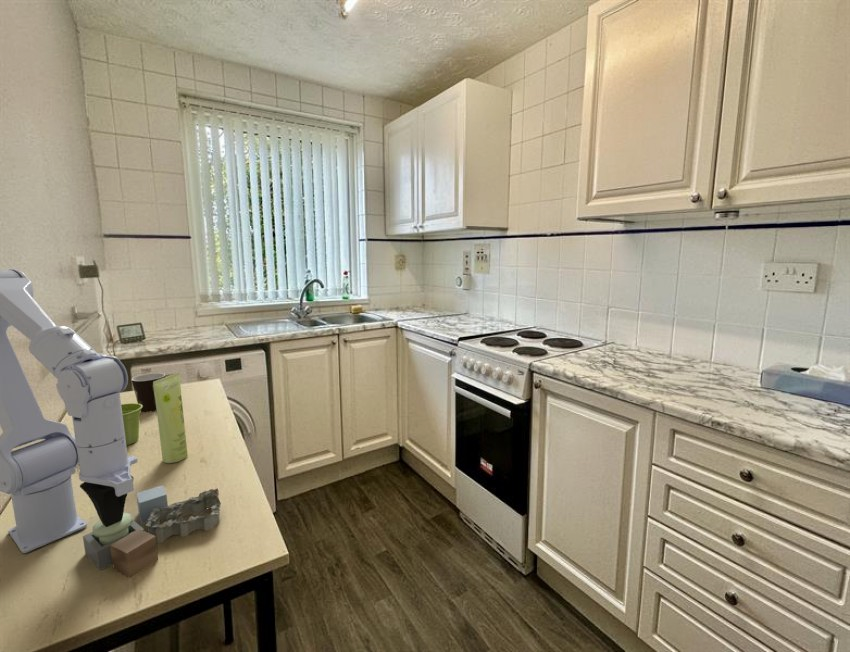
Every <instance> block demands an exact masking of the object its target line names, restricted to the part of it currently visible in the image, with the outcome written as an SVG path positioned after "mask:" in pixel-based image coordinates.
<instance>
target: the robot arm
mask: <svg viewBox="0 0 850 652" xmlns="http://www.w3.org/2000/svg"><path fill="white" fill-rule="evenodd" d="M32 282H33V281H31V280H30V279H29V277H28V276H27V275H26V273H24V272H23V271H21V270H20V269H16V268H10V269H4V270H3V269H2V270H0V428H1V430H2V433H1V434H0V492H1V493H4V494H7V495H10V497H11V503H12V504H11V505H12V510H13V516H14V521H15V526H13V527H11V528H9V529H8V532H7V533H8V534H9V535H10V537H11V538H12V540H13V541H14V543H15V544H16V545H17V547H18V549H19V550H20V552H21V553H22V554H27V553H29V552H31V551H33V550H36V549H38V548H40V547H44V546H45V545H47V544H50V543H52V542H55V541H57V540H59V539H61V538H64V537H66V536H68V535H69V536H70V535H71V534H74V533H76V532H78V531H80V530H83V529H86V528H87V527H88V525H87V522H85V520H84V519H83V518H82V517H81V516H80V515H78V514H77V507H76V501H75V495H74V487H73V482H72V475H74V474H76V467H79V472H78V478H79V480H80V481H81V482H82V483H81V484H80V485H79V488H81V489H82V491H83V492H84V493H85V494H86V495H87V496H88V498H89V499H90V501H91V503H92V504H93V506H94V508H95V511H96V513H97V515H98V518H99V520H101V522H102V524H103V525H104V526H105V527H108V526H111V525H113V524H115V523H117V522H120V521H122V518H123V513H125V505H126V501H127V496H128V494H129V493H132V492H133V491H135V485H134V476H133V475H131V466H132V465H134V464H137V463H138V457H136V456H135V455H129V456H128V450H127V446H126V439H125V431H124V423H123V415H122V407H121V404H122V401H121V400H122V399H121V393H122V392H123V391H125V390H126V388H127V386H128V382H129V375H128V371H127V369H126V367H125V365H124V363H122V361H121V360H120V358H118V357H117V356H115V355H107V354H105V353H98V351H96V350H95V349H94V348H92V346H91V345H90V344H88V342H86V340H85V339H83V338H82V337H81V336H80V335H79V334H78V333H77V332H76V331H75V330H74V329H73V328H71V327H69V326H63V325H56V323H55V322H54V321H53V320H52V319H51V317H50V316H49V315H48V313H46V311H45V310H44V309H43V308H42V307H41V305H40V304H39V303H38V302H37V301H36V300H35V298H34V288H33V283H32ZM11 326H12V327H13V328H15V329H16V330H17V331H18V332H20V333H21V334H22V335H24V337H26V338H28V339H29V340H30V342H29V345H28V350H29V353H30V354H31V355H32V356H33V357H34V358H35V359H36V360H37V361H38V362H39V363H40V364H41V365H42V366H43V367H44V368H45V369H47V371H49V373H51V375H52V376H53V377H55V378H56V379H57V383H55V386H56V390H57V393H58V395H59V396H60V399H62V401H63V403H64V407H65V412H66V413H67V415H68V416H69V417H72V424H73V431H74V432H73V433H74V435H73V434H72V432H71V431H70V429H69V427H68V426H67V424H65V423H63V422H60V421H55V420H51V419H48V418H47V419H46V418H45V416H44V414H43V412H42V409H41V407H40V404H39V403H38V401H37V398H36V396H35V394H34V392H33V389H32V388H31V385H30V383H29V380H28V378H27V376H26V373H25V372H24V370H23V367H22V365H21V363H20V361H19V358H18V356H17V354H16V352H15V349H14V347H13V345H12V343H11V341H10V338H9V336H8V334H7V330H8V328H9V327H11ZM39 440H41V441H39ZM36 441H37V442H36ZM34 442H35V443H34ZM30 443H33V444H30ZM28 444H29V445H28ZM24 445H27V446H24ZM21 446H24V447H21ZM19 447H21V448H19ZM15 448H17V449H15ZM13 449H14V450H13Z"/></svg>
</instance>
